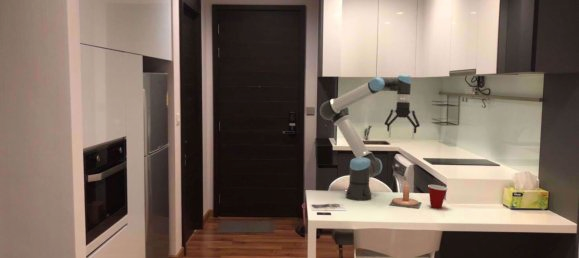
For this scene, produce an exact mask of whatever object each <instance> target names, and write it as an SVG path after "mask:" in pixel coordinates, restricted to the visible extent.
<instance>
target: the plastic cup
mask: <svg viewBox="0 0 579 258" xmlns="http://www.w3.org/2000/svg"><path fill="white" fill-rule="evenodd" d="M427 187H428V193H429V202H430V204H429V205H430V208H432V209H438V210H440V209H442V207H443V204H444V201H445V197H446V193H447V191H448V188H447V187H446V186H444V185H443V186H442V185H438V184H428V185H427Z"/></svg>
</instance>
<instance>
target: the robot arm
mask: <svg viewBox="0 0 579 258" xmlns="http://www.w3.org/2000/svg"><path fill="white" fill-rule="evenodd" d="M411 87H412V76H410V75H407V74H404V75H403V74H399V75H398V77H397V78H392V77H390V78H389V77H372V78H371V80H369V81H368V82H366V83H364V84H362V85H360V86H359V87H356V88H355V89H353V90H350V91H349V92H346V93H344V94H342V95H340V96H339V97H337V98H331V99H329V100H327V101H325V102H323V103H322V104H321V106H320V107H319V114H320V116H321V117H322V118H323V119H324V120H327V121H331V122H332V124H333V126H336V127H338V130H339V131H340V132H341V134H342V136H343V138H344V139H345V141H346V143H347V145H348V146H349V148H350V149H351V151H352V153H353V155H354V158H352V159H351V160H350V163H349V184H348V187H347V189H346V192H345V197H346V199H349V200H353V201H369V200H371V199H372V191H371V187H370V178H375V177H377V176H378V175H379V174H381V173H382V170H383V163H382V161H381V160H380V158H378V157H375V155H374V154H373V151H369V150H368V148H367V146H366V144H365V143H364V142H363V140H362V137H360V135H359V133H358V131H357V130H356V128H355V127H354V126H355V125H353V123H352V121H351V120H350V119H351V115H350V113H349V107H350V106H352V105H354V104H356V103H358V102H360V101H362V100H364V99H366V98H369V97H371V96H372V95H374V94H375V95H376V93H379V92H396V101H397V102H396V107H395V108H396V109H393V108H392V109H390V113H389V114H388V116H387V118H386V120H385V122H384V125H386V126H387V127H386V129H387V130H386V131H387V132H388V138H391V137H392V135H391V134H392V131H391V130H392V124H393V123H394V122H395V121H396V119H398V118H400V119H401V118H402V119H403V118H406V119H407V121H408V122H410V124H411V125H412V126H413V127H412V133H411V134H412V138H411V139H413V140H414V139H415V134H417V128H420V126H421V124H420V122H419V120H418V118H417V115H416V111H415V110H410V106H411V105H410V101H411ZM393 114H395V116H394V117H393V118H392V116H393ZM409 114H411V115H412V117H413V119H414V121H415V122H414V121H413V120H412V118H411V117H410V115H409ZM391 118H392V119H391Z"/></svg>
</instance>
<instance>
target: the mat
mask: <svg viewBox="0 0 579 258" xmlns="http://www.w3.org/2000/svg"><path fill="white" fill-rule="evenodd" d="M388 205H389V206H392V207H400V208H408V209H416V210H419V209H420V207H421V205H422V201H418V205H417V206H401V205H397V204H394V203H393V199H392V200H391V202H390V203H389V204H388Z"/></svg>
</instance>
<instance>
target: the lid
mask: <svg viewBox="0 0 579 258" xmlns="http://www.w3.org/2000/svg"><path fill="white" fill-rule="evenodd" d="M402 187H403V188H402V190H403V191H402V197H395V198H393V199H392V200H393V203H394V204H397V205H401V206H417V205H418V202H419V200H416V199H414V198H410V187H411V186H410V184H403V186H402Z"/></svg>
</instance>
